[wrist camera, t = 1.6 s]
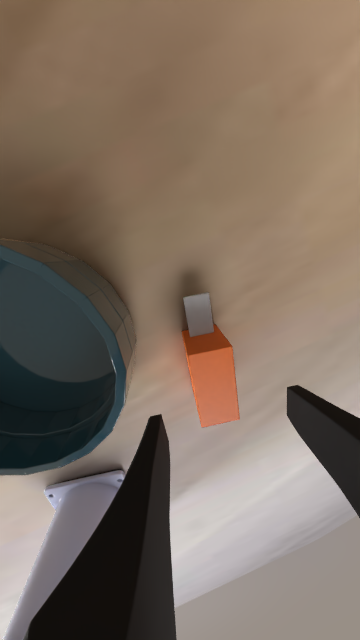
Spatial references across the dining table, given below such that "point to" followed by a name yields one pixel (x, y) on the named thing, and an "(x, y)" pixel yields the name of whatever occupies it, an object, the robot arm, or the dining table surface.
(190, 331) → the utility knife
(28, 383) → the bowl
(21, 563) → the dining table surface
